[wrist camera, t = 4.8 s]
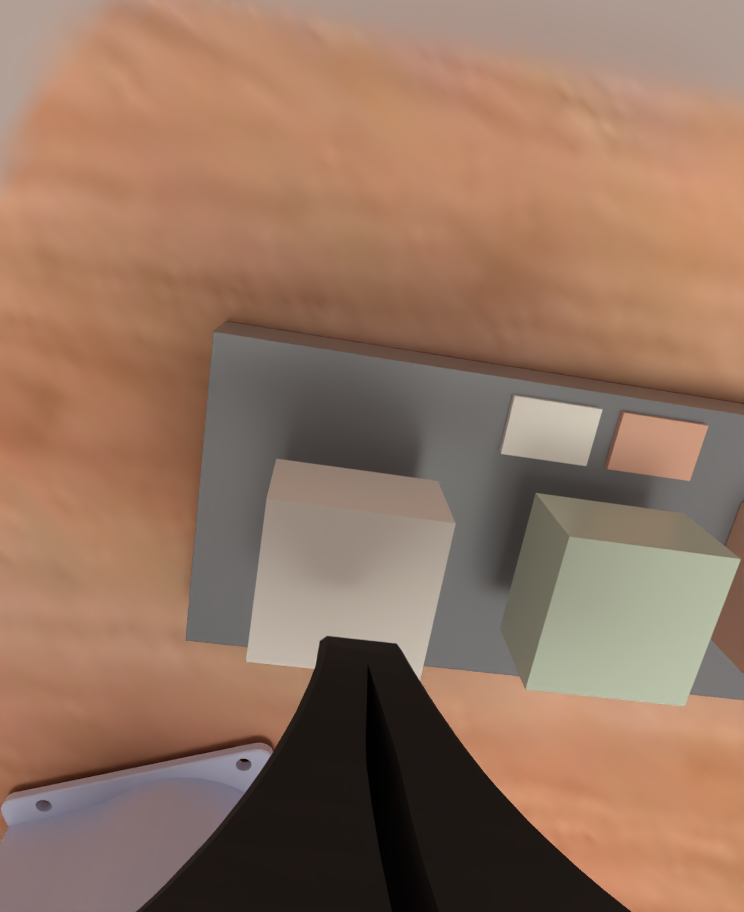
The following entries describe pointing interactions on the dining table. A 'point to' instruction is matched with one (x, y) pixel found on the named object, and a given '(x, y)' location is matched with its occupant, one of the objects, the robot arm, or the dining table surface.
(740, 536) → the terracotta key
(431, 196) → the dining table surface
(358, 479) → the cream key
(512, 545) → the grey key panel base
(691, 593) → the sage key
